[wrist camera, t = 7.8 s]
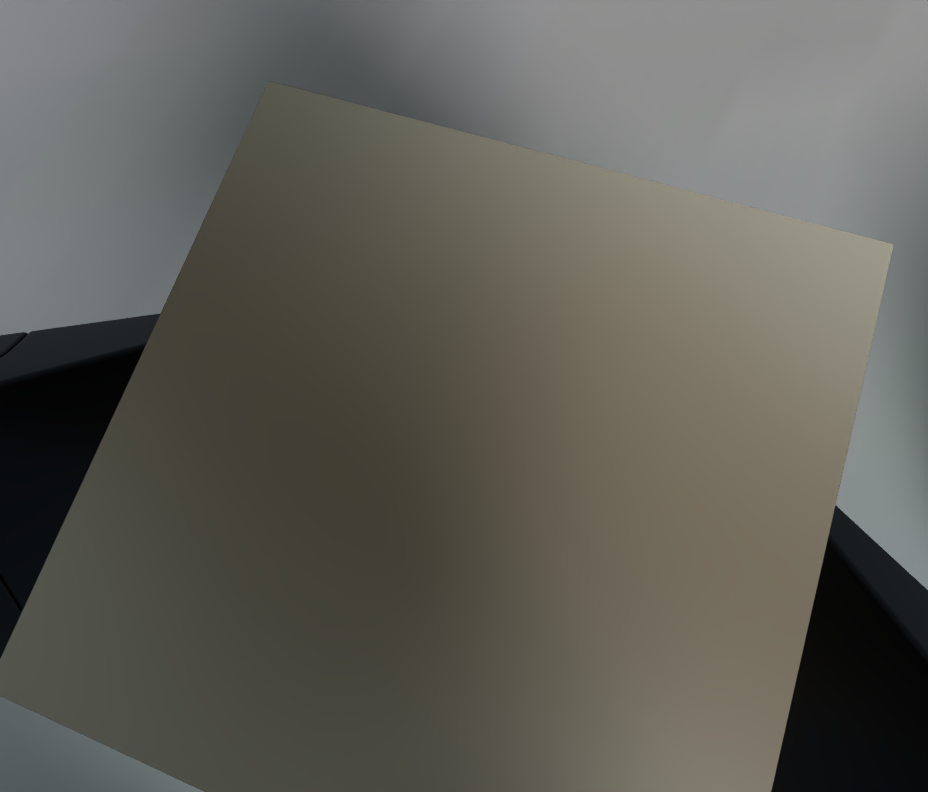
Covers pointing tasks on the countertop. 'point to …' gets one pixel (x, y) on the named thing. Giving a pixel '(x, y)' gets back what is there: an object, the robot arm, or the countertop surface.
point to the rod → (459, 477)
